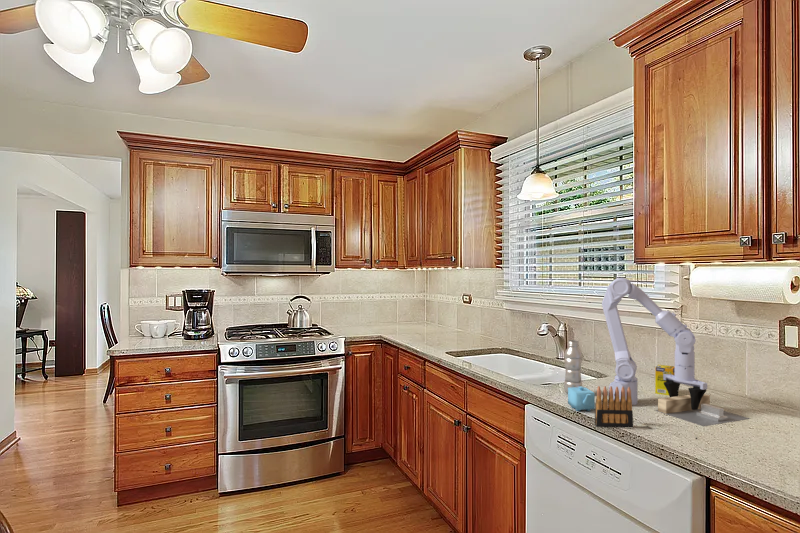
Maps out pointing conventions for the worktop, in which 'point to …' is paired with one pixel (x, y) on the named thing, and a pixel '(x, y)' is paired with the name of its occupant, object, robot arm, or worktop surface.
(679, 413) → the charcoal board
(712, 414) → the steel ridge
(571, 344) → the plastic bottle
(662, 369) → the supplement box
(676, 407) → the maple batten
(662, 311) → the robot arm
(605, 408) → the ammunition clip
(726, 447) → the worktop surface
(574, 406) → the teapot
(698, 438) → the worktop surface
